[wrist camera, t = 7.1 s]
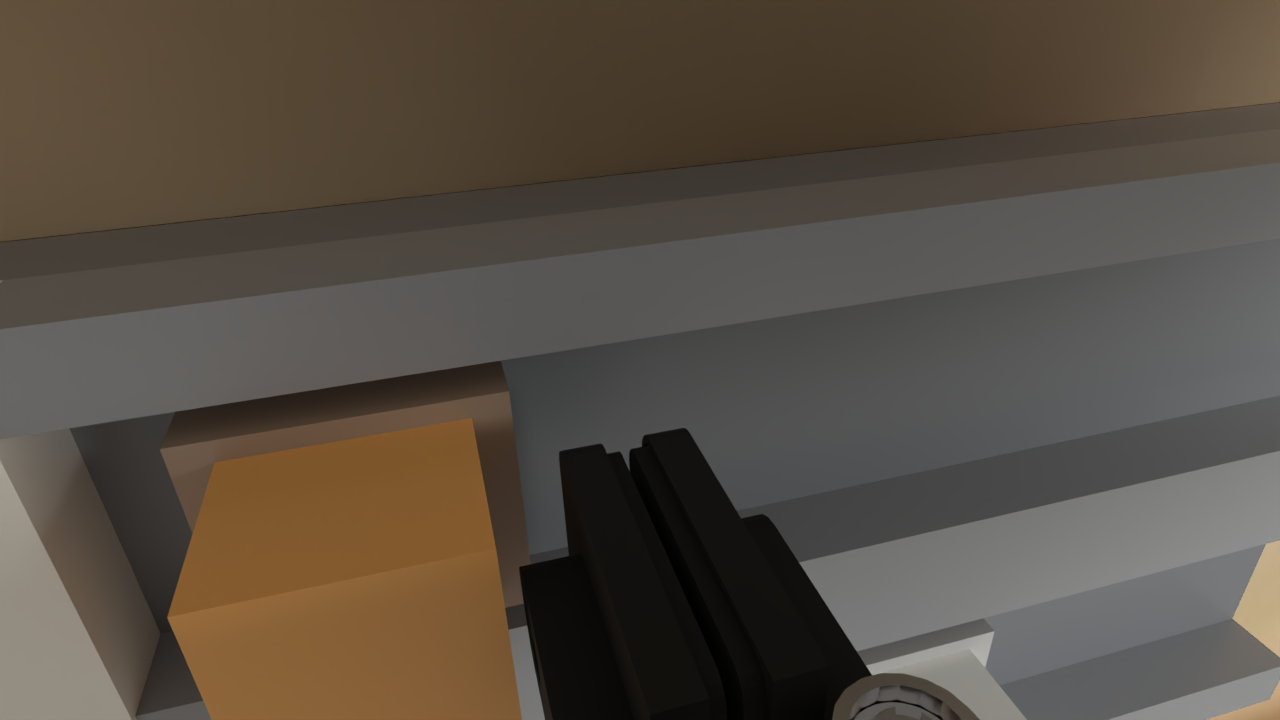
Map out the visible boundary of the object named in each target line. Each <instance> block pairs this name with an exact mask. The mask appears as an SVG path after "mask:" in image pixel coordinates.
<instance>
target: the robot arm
mask: <svg viewBox="0 0 1280 720" xmlns="http://www.w3.org/2000/svg"><path fill="white" fill-rule="evenodd" d="M559 464H560V474H561V484H562V494H563V503H564V513H565V523H566V533H567V543H568V552H569V556H566V557H562V558H557V559H553V560H548V561H543V562H539V563H534V564H530V565H525V566H520V567H519V572H520V580H521V587H522V594H523V601H524V608H525V615H526V621H527V627H528V633H529V639H530V645H531V651H532V656H533V662H534V667H535V672H536V677H537V682H538V687H539V692H540V697H541V702H542V707H543V712H544V717H545V720H980V719H979V718H978V717H977V716H976V715H975V714H974V713H973V712H972V711H971V710H970V709H969V707H968V706H966V705H965V704H964V703H963V702H962V701H960V700H959V699H958V698H957V697H956V696H954V695H953V694H952V693H951V692H950V691H948V690H946V689H944V688H942V687H940V686H938V685H936V684H934V683H933V682H931V681H929V680H927V679H923V678H919V677H915V676H911V675H908V674H904V673H880V674H876V675H872V674H871V673H870V671H869V670H868V668H867V666H866V665H865V663H864V662H863V660H862V659H861V657H860V656H859V654H858V653H857V651H856V649H855V648H854V646H853V645H852V643H851V642H850V640H849V639H848V637H847V636H846V634H845V633H844V631H843V629H842V628H841V626H840V625H839V623H838V622H837V620H836V619H835V617H834V616H833V614H832V613H831V611H830V609H829V608H828V606H827V605H826V603H825V602H824V600H823V599H822V597H821V596H820V594H819V592H818V591H817V589H816V588H815V586H814V585H813V583H812V582H811V580H810V579H809V577H808V576H807V574H806V572H805V571H804V569H803V568H802V566H801V565H800V563H799V562H798V560H797V559H796V557H795V555H794V554H793V552H792V551H791V549H790V548H789V546H788V545H787V543H786V542H785V540H784V539H783V537H782V535H781V534H780V532H779V531H778V529H777V528H776V526H775V525H774V524H773V522H772V521H771V520H770V519H769V517H767V516H765V515H764V514H759V515H754V516H750V517H745V518H741V517H740V516H739V514H738V512H737V511H736V509H735V507H734V506H733V504H732V502H731V501H730V499H729V497H728V496H727V494H726V492H725V491H724V489H723V487H722V486H721V484H720V482H719V481H718V479H717V477H716V476H715V474H714V472H713V471H712V469H711V467H710V466H709V464H708V462H707V461H706V459H705V457H704V456H703V454H702V452H701V451H700V449H699V447H698V446H697V444H696V442H695V441H694V439H693V437H692V436H691V434H690V432H689V431H688V430H687V429H686V428H679V429H674V430H669V431H663V432H658V433H653V434H647V435H644V436H643V439H642V447H639V448H633V449H631V450H630V452H629V467H630V471H629V469H628V467H627V465H626V462H625V460H624V458H623V456H622V454H621V452H619V451H618V452H613V453H608V454H607V453H606V450H605V448H604V446H603V444H601V443H600V444H595V445H589V446H584V447H579V448H573V449H568V450H563V451H560V452H559Z"/></svg>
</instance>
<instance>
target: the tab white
mask: <svg viewBox="0 0 1280 720" xmlns="http://www.w3.org/2000/svg"><path fill="white" fill-rule="evenodd" d="M994 632H995V631H994V630H993V629H992V628H991V626H990V625H989V624H988V623H987V622H986V621H985V619H984V618H982V619H979V620H975V621H971V622H967V623H963V624H960V625H956V626H952V627H948V628H944V629H941V630H937V631H933V632H929V633H925V634H922V635H918V636H914V637H910V638H906V639H903V640H899V641H895V642H891V643H887V644H884V645H880V646H876V647H872V648H869V649H865V650H861V651H857V653H858V654H859V656H860V657H861V659H862V660H863V662H864V663H865V665H866V666H867V668H868V670H869V671H870V673H871V674H872V675H876V674H880V673H904V674H908V675H911V676H915V677H919V678H923V679H927V680H929V681H931V682H933V683H934V684H936V685H938V686H940V687H942V688H944V689H946V690H948V691H950V692H951V693H952V694H953V695H954V696H956V697H957V698H958V699H959V700H960V701H962V702H963V703H964V704H965V705H966V706H968V707H969V709H970V710H971V711H972V712H973V713H974V714H975V715H976V716H977V717H978V718H979V719H980V720H1027V719H1026V718H1025V717H1024V715H1023V714H1022V713H1021V712H1020V711H1019V709H1018V708H1017V707H1016V706H1015V704H1014V703H1013V702H1012V701H1011V699H1010V698H1009V697H1008V696H1007V694H1006V693H1005V692H1004V691H1003V690H1002V688H1001V687H1000V686H999V685H998V683H997V682H996V681H995V680H994V678H993V677H992V676H991V675H990V673H989V672H988V671H987V670H986V669H985V667H986V663H987V659H988V655H989V651H990V647H991V643H992V639H993V635H994Z"/></svg>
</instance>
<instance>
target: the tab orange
mask: <svg viewBox="0 0 1280 720" xmlns="http://www.w3.org/2000/svg"><path fill="white" fill-rule="evenodd" d="M160 451H161V454H162V456H163V459H164V462H165V464H166V467H167V469H168V472H169V475H170V477H171V480H172V482H173V485H174V487H175V490H176V493H177V495H178V498H179V500H180V503H181V506H182V508H183V511H184V513H185V516H186V519H187V521H188V524H189V526H190V529H191V531H192V538H191V541H190V544H189V547H188V551H187V554H186V557H185V561H184V564H183V567H182V570H181V574H180V577H179V580H178V584H177V587H176V590H175V593H174V597H173V600H172V603H171V606H170V610H169V613H168V616H167V618H168V621H169V623H170V625H171V628H172V630H173V632H174V634H175V637H176V639H177V641H178V644H179V646H180V648H181V651H182V653H183V655H184V657H185V660H186V662H187V664H188V667H189V669H190V671H191V674H192V676H193V678H194V680H195V683H196V685H197V687H198V690H199V692H200V694H201V697H202V699H203V701H204V703H205V706H206V708H207V710H208V713H209V715H210V717H211V720H522V715H521V709H520V702H519V696H518V689H517V683H516V676H515V669H514V663H513V656H512V650H511V643H510V637H509V630H508V624H507V617H506V610H505V608H507V607H511V606H516V605H520V604H524V601H523V594H522V587H521V580H520V572H519V567H520V566H525V565H530V564H531V561H530V553H529V545H528V537H527V529H526V521H525V513H524V505H523V498H522V490H521V482H520V474H519V466H518V458H517V450H516V442H515V434H514V426H513V419H512V411H511V403H510V395H509V389H508V386H507V382H506V378H505V375H504V371H503V367H502V364H501V361H495V362H489V363H482V364H476V365H469V366H463V367H457V368H450V369H444V370H438V371H431V372H425V373H419V374H412V375H406V376H399V377H393V378H387V379H380V380H374V381H368V382H361V383H355V384H349V385H342V386H336V387H329V388H323V389H317V390H310V391H304V392H298V393H291V394H285V395H278V396H272V397H266V398H259V399H253V400H247V401H240V402H234V403H228V404H221V405H215V406H208V407H202V408H196V409H189V410H183V411H177V412H175V414H174V416H173V419H172V421H171V423H170V426H169V428H168V431H167V433H166V435H165V438H164V440H163V443H162V445H161V447H160Z"/></svg>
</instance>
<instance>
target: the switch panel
mask: <svg viewBox="0 0 1280 720" xmlns="http://www.w3.org/2000/svg"><path fill="white" fill-rule="evenodd" d="M495 361H501V364H502V367H503V371H504V375H505V378H506V382H507V386H508V389H509V395H510V403H511V411H512V419H513V426H514V434H515V442H516V450H517V458H518V466H519V474H520V482H521V490H522V498H523V505H524V513H525V521H526V529H527V537H528V545H529V553H530V561H531V564H534V563H539V562H543V561H548V560H553V559H557V558H562V557H566V556H569V552H568V543H567V533H566V523H565V513H564V503H563V494H562V484H561V474H560V464H559V452H560V451H563V450H568V449H573V448H579V447H584V446H589V445H595V444H600V443H601V444H603V446H604V448H605V450H606V453H607V454H608V453H613V452H618V451H619V452H621V454H622V456H623V458H624V460H625V462H626V465H627V467H628V469H629V471H630V467H629V452H630V450H631V449H633V448H639V447H642V439H643V436H644V435H647V434H653V433H658V432H663V431H669V430H674V429H679V428H686V429H687V430H688V431H689V432H690V434H691V436H692V437H693V439H694V441H695V442H696V444H697V446H698V447H699V449H700V451H701V452H702V454H703V456H704V457H705V459H706V461H707V462H708V464H709V466H710V467H711V469H712V471H713V472H714V474H715V476H716V477H717V479H718V481H719V482H720V484H721V486H722V487H723V489H724V491H725V492H726V494H727V496H728V497H729V499H730V501H731V502H732V504H733V506H734V507H735V509H736V511H737V512H738V514H739V516H740V517H741V518H745V517H750V516H754V515H759V514H764V515H765V516H767V517H769V519H770V520H771V521H772V522H773V524H774V525H775V526H776V528H777V529H778V531H779V532H780V534H781V535H782V537H783V539H784V540H785V542H786V543H787V545H788V546H789V548H790V549H791V551H792V552H793V554H794V555H795V557H796V559H797V560H798V562H799V563H800V565H801V566H802V568H803V569H804V571H805V572H806V574H807V576H808V577H809V579H810V580H811V582H812V583H813V585H814V586H815V588H816V589H817V591H818V592H819V594H820V596H821V597H822V599H823V600H824V602H825V603H826V605H827V606H828V608H829V609H830V611H831V613H832V614H833V616H834V617H835V619H836V620H837V622H838V623H839V625H840V626H841V628H842V629H843V631H844V633H845V634H846V636H847V637H848V639H849V640H850V642H851V643H852V645H853V646H854V648H855V649H856V651H861V650H865V649H869V648H872V647H876V646H880V645H884V644H887V643H891V642H895V641H899V640H903V639H906V638H910V637H914V636H918V635H922V634H925V633H929V632H933V631H937V630H941V629H944V628H948V627H952V626H956V625H960V624H963V623H967V622H971V621H975V620H979V619H982V618H984V619H985V621H986V622H987V623H988V624H989V625H990V626H991V628H992V629H993V630H994V631H995V632H994V635H993V639H992V643H991V647H990V651H989V655H988V659H987V663H986V667H985V669H986V670H987V671H988V672H989V673H990V675H991V676H992V677H993V678H994V680H995V681H996V682H997V683H998V685H999V686H1000V687H1001V688H1002V690H1003V691H1004V692H1005V693H1006V694H1007V696H1008V697H1009V698H1010V699H1011V701H1012V702H1013V703H1014V704H1015V706H1016V707H1017V708H1018V709H1019V711H1020V712H1021V713H1022V714H1023V715H1024V717H1025V718H1026V719H1027V720H1206V719H1209V718H1213V717H1216V716H1219V715H1222V714H1225V713H1228V712H1231V711H1234V710H1238V709H1241V708H1244V707H1247V706H1250V705H1253V704H1256V703H1260V702H1263V701H1266V700H1269V699H1270V698H1271V696H1272V694H1273V692H1274V690H1275V688H1276V686H1277V684H1278V682H1279V680H1280V658H1279V657H1278V656H1277V655H1276V654H1275V653H1273V652H1272V651H1271V650H1270V649H1268V648H1267V647H1266V646H1265V645H1264V644H1262V643H1261V642H1260V641H1259V640H1257V639H1256V638H1255V637H1254V636H1253V635H1251V634H1250V633H1249V632H1248V631H1247V630H1245V629H1244V628H1243V627H1242V626H1240V625H1239V624H1238V623H1237V622H1236V621H1234V620H1233V619H1232V618H1233V616H1234V613H1235V611H1236V609H1237V607H1238V605H1239V602H1240V600H1241V598H1242V596H1243V593H1244V591H1245V589H1246V587H1247V585H1248V582H1249V580H1250V578H1251V576H1252V573H1253V571H1254V569H1255V567H1256V565H1257V562H1258V560H1259V558H1260V556H1261V554H1262V551H1263V549H1264V547H1265V545H1266V544H1267V543H1271V542H1275V541H1278V540H1280V103H1272V104H1263V105H1254V106H1245V107H1236V108H1227V109H1217V110H1208V111H1199V112H1190V113H1181V114H1172V115H1163V116H1153V117H1144V118H1135V119H1126V120H1117V121H1108V122H1099V123H1089V124H1080V125H1071V126H1062V127H1053V128H1044V129H1034V130H1025V131H1016V132H1007V133H998V134H989V135H980V136H970V137H961V138H952V139H943V140H934V141H925V142H916V143H906V144H897V145H888V146H879V147H870V148H861V149H852V150H842V151H833V152H824V153H815V154H806V155H797V156H787V157H778V158H769V159H760V160H751V161H742V162H733V163H723V164H714V165H705V166H696V167H687V168H678V169H669V170H659V171H650V172H641V173H632V174H623V175H614V176H604V177H595V178H586V179H577V180H568V181H559V182H550V183H540V184H531V185H522V186H513V187H504V188H495V189H486V190H476V191H467V192H458V193H449V194H440V195H431V196H422V197H412V198H403V199H394V200H385V201H376V202H367V203H357V204H348V205H339V206H330V207H321V208H312V209H303V210H293V211H284V212H275V213H266V214H257V215H248V216H239V217H229V218H220V219H211V220H202V221H193V222H184V223H175V224H165V225H156V226H147V227H138V228H129V229H120V230H110V231H101V232H92V233H83V234H74V235H65V236H56V237H46V238H37V239H28V240H19V241H10V242H1V243H0V720H211V717H210V715H209V713H208V710H207V708H206V706H205V703H204V701H203V699H202V697H201V694H200V692H199V690H198V687H197V685H196V683H195V680H194V678H193V676H192V674H191V671H190V669H189V667H188V664H187V662H186V660H185V657H184V655H183V653H182V651H181V648H180V646H179V644H178V641H177V639H176V637H175V634H174V632H173V630H172V628H171V625H170V623H169V621H168V618H167V616H168V613H169V610H170V606H171V603H172V600H173V597H174V593H175V590H176V587H177V584H178V580H179V577H180V574H181V570H182V567H183V564H184V561H185V557H186V554H187V551H188V547H189V544H190V541H191V538H192V531H191V529H190V526H189V524H188V521H187V519H186V516H185V513H184V511H183V508H182V506H181V503H180V500H179V498H178V495H177V493H176V490H175V487H174V485H173V482H172V480H171V477H170V475H169V472H168V469H167V467H166V464H165V462H164V459H163V456H162V454H161V451H160V447H161V445H162V443H163V440H164V438H165V435H166V433H167V431H168V428H169V426H170V423H171V421H172V419H173V416H174V414H175V412H177V411H183V410H189V409H196V408H202V407H208V406H215V405H221V404H228V403H234V402H240V401H247V400H253V399H259V398H266V397H272V396H278V395H285V394H291V393H298V392H304V391H310V390H317V389H323V388H329V387H336V386H342V385H349V384H355V383H361V382H368V381H374V380H380V379H387V378H393V377H399V376H406V375H412V374H419V373H425V372H431V371H438V370H444V369H450V368H457V367H463V366H469V365H476V364H482V363H489V362H495ZM505 610H506V617H507V624H508V630H509V637H510V643H511V650H512V656H513V663H514V669H515V676H516V683H517V689H518V696H519V702H520V709H521V715H522V720H545V717H544V712H543V707H542V702H541V697H540V692H539V687H538V682H537V677H536V672H535V667H534V662H533V656H532V651H531V645H530V639H529V633H528V627H527V621H526V615H525V608H524V604H520V605H516V606H511V607H507V608H505Z"/></svg>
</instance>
